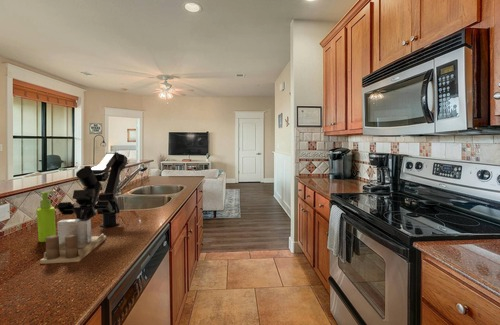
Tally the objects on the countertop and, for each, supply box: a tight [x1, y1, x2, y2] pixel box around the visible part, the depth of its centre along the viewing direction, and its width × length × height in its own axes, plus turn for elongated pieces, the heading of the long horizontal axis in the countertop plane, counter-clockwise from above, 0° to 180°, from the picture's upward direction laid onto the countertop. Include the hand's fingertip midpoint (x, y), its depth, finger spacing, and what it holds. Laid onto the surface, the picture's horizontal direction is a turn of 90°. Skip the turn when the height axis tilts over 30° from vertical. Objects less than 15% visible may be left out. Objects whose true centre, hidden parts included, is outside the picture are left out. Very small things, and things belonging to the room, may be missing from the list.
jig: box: [39, 233, 107, 265], centre depth 98 cm, size 22×12×8 cm, turn 7°
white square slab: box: [56, 218, 92, 249], centre depth 97 cm, size 3×10×10 cm, turn 97°
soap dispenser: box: [36, 190, 57, 243], centre depth 108 cm, size 6×7×20 cm
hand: (78, 226), depth 99 cm, fingers closed
